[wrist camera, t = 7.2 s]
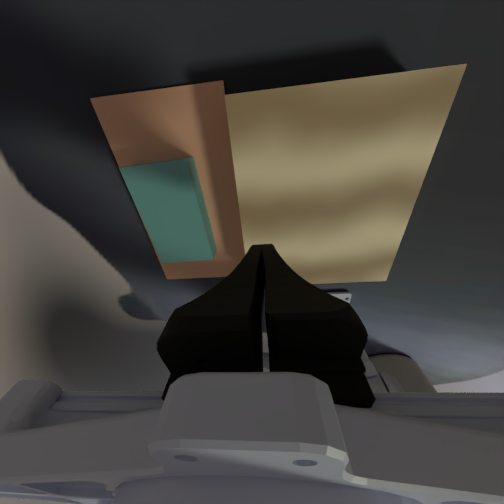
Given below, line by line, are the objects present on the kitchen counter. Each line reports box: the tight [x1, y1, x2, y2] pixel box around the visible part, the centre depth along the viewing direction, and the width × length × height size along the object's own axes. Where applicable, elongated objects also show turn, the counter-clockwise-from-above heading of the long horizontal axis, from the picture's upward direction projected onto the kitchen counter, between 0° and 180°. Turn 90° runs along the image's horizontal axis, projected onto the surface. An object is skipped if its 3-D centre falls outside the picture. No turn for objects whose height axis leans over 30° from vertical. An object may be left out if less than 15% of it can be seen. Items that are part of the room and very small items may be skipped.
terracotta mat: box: [90, 80, 245, 279], centre depth 19 cm, size 19×11×1 cm, turn 5°
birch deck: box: [224, 64, 467, 284], centre depth 17 cm, size 16×14×4 cm
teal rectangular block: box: [119, 157, 217, 263], centre depth 19 cm, size 10×6×2 cm, turn 7°
